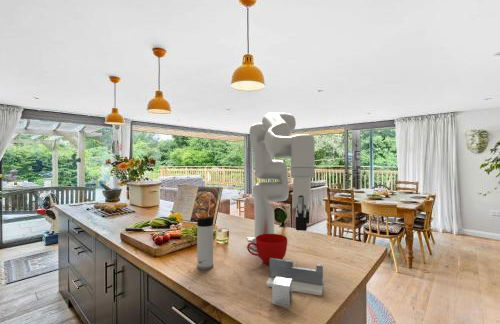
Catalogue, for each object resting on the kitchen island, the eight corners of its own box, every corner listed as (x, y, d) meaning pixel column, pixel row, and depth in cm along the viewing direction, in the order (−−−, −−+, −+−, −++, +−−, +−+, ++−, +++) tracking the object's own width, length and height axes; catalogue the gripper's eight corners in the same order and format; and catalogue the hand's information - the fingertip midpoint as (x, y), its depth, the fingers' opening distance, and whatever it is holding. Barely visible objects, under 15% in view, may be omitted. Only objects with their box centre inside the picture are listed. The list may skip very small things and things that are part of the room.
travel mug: (200, 271, 96) (199, 219, 96) (195, 265, 102) (195, 215, 102) (215, 268, 99) (215, 217, 99) (210, 262, 105) (210, 214, 105)
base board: (266, 286, 85) (266, 282, 85) (273, 273, 94) (273, 270, 94) (321, 295, 79) (321, 291, 79) (323, 281, 88) (323, 277, 88)
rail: (269, 277, 89) (269, 259, 89) (270, 276, 90) (270, 257, 90) (322, 285, 83) (322, 266, 83) (322, 284, 84) (322, 264, 84)
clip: (272, 303, 74) (272, 283, 74) (276, 295, 79) (276, 276, 79) (289, 307, 73) (289, 286, 73) (292, 298, 77) (292, 278, 77)
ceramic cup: (243, 259, 108) (243, 235, 108) (279, 254, 113) (279, 232, 113) (251, 271, 96) (251, 245, 96) (292, 266, 101) (292, 241, 101)
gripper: (294, 172, 91) (294, 220, 91) (286, 174, 74) (286, 232, 74) (316, 172, 88) (316, 221, 88) (312, 174, 72) (313, 234, 72)
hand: (302, 226), depth 81 cm, fingers open, 9 cm apart
